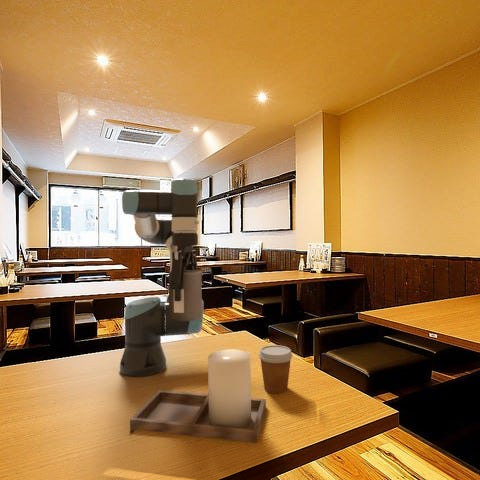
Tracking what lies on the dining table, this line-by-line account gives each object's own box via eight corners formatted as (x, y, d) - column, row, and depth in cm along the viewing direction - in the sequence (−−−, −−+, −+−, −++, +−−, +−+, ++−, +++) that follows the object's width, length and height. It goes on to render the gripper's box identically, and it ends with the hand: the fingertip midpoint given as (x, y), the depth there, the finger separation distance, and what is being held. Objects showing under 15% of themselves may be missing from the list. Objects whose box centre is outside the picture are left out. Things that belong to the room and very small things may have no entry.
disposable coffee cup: (270, 403, 89) (270, 358, 89) (252, 389, 97) (252, 347, 97) (299, 395, 93) (299, 352, 93) (280, 382, 102) (279, 342, 102)
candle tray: (130, 432, 76) (129, 419, 76) (158, 401, 91) (158, 390, 91) (256, 447, 70) (256, 433, 70) (265, 411, 85) (265, 399, 85)
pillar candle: (161, 319, 96) (161, 267, 96) (180, 312, 105) (180, 264, 105) (190, 323, 92) (190, 268, 92) (208, 315, 101) (208, 265, 101)
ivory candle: (203, 429, 75) (202, 362, 75) (215, 407, 85) (214, 348, 85) (247, 434, 73) (246, 365, 73) (254, 411, 83) (253, 350, 83)
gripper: (183, 231, 87) (184, 317, 87) (208, 232, 109) (208, 301, 109) (156, 232, 88) (157, 316, 89) (186, 233, 110) (187, 301, 110)
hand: (185, 308), depth 99 cm, fingers closed on pillar candle, 10 cm apart
